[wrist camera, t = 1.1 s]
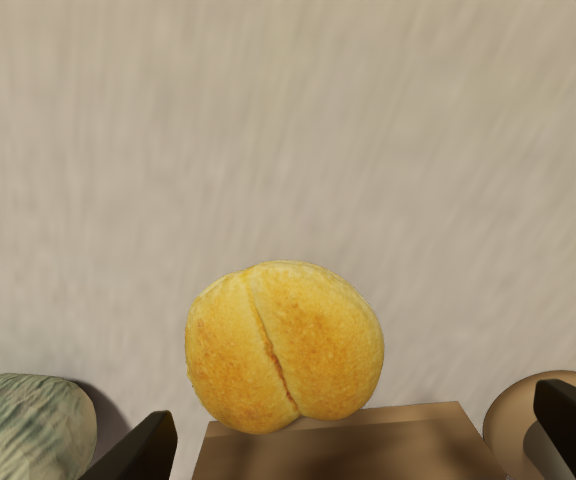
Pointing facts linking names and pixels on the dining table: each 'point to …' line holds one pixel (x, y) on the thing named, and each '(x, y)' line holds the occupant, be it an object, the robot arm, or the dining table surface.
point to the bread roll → (282, 347)
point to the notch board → (355, 448)
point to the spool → (44, 428)
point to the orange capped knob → (524, 433)
